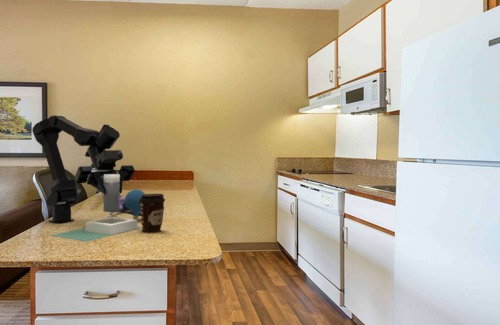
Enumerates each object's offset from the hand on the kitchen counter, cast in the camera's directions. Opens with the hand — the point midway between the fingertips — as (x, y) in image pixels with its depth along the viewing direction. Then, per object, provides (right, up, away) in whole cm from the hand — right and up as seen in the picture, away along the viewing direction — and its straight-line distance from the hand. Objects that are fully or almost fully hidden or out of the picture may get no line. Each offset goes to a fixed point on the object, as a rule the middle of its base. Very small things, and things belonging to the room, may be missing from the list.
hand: (113, 193), depth 131 cm
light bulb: (0, -13, +24) cm, 27 cm away
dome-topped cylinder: (-1, -6, +1) cm, 6 cm away
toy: (-6, -12, +41) cm, 43 cm away
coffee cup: (+12, -14, +1) cm, 19 cm away
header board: (-4, -13, -1) cm, 14 cm away
